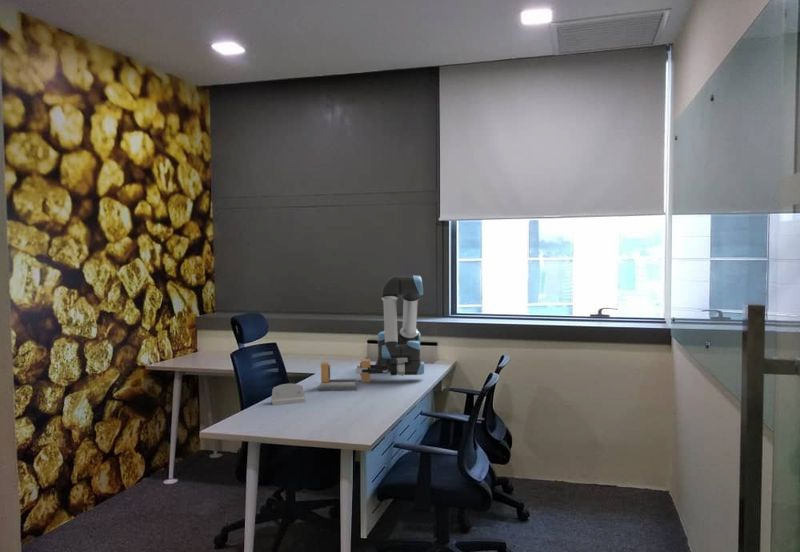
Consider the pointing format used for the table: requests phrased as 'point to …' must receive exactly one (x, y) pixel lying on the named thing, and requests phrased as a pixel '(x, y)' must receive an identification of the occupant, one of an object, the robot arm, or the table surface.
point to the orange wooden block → (365, 376)
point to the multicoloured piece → (334, 381)
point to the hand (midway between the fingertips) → (356, 369)
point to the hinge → (287, 394)
